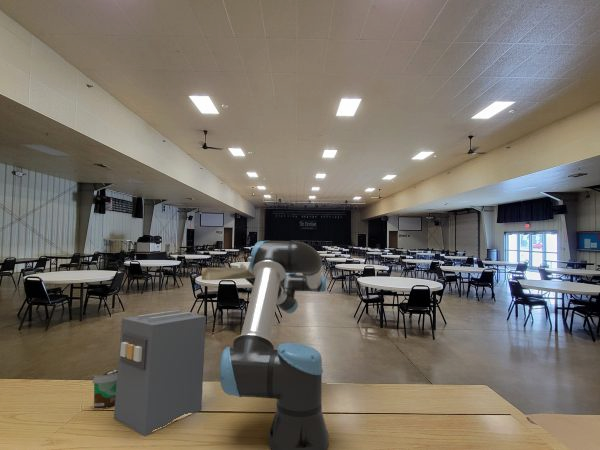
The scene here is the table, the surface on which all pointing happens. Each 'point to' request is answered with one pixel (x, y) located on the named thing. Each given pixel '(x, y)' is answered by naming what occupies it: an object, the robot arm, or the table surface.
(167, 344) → the cabinet
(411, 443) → the table surface
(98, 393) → the food container
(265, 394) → the robot arm
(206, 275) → the switch bar
